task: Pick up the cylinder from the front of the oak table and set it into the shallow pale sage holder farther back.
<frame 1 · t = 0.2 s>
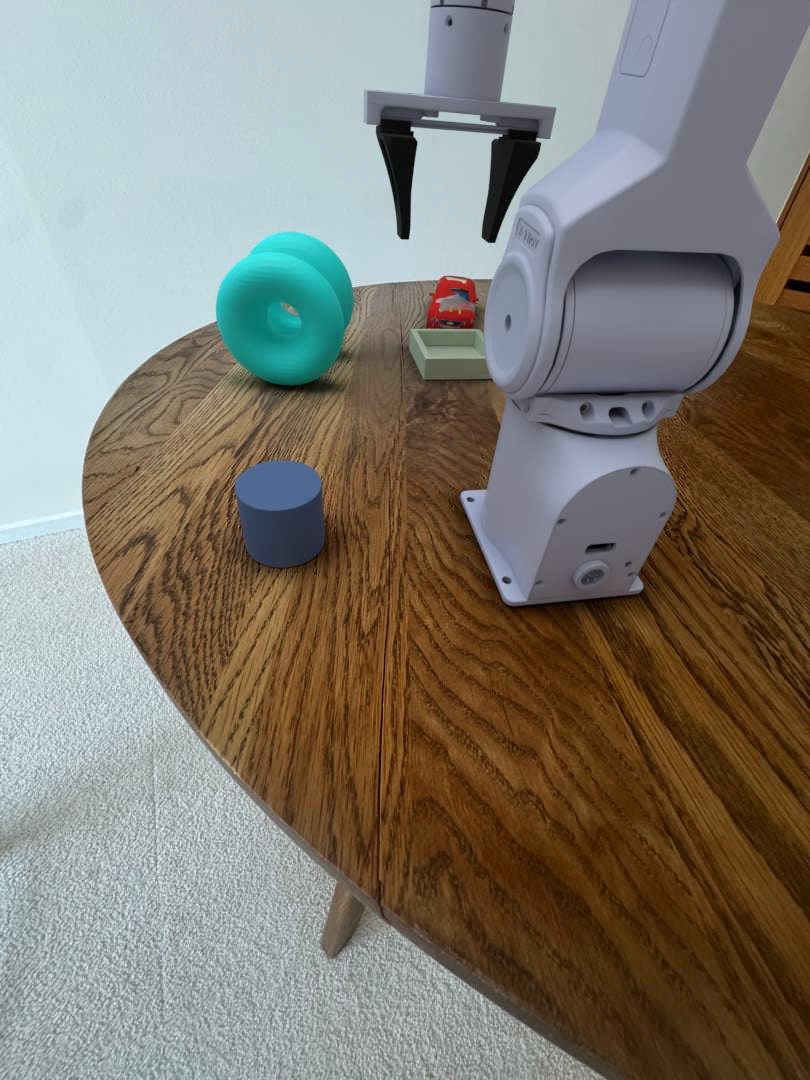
hand: (446, 238, 44), 10 cm above the table, tool pointing down, fingers open, 7 cm apart
turquoise spool: (294, 368, 46), on the table
holder: (451, 363, 49), on the table
lighter: (554, 345, 55), on the table
race car: (450, 321, 58), on the table
cylinder: (285, 540, 29), on the table
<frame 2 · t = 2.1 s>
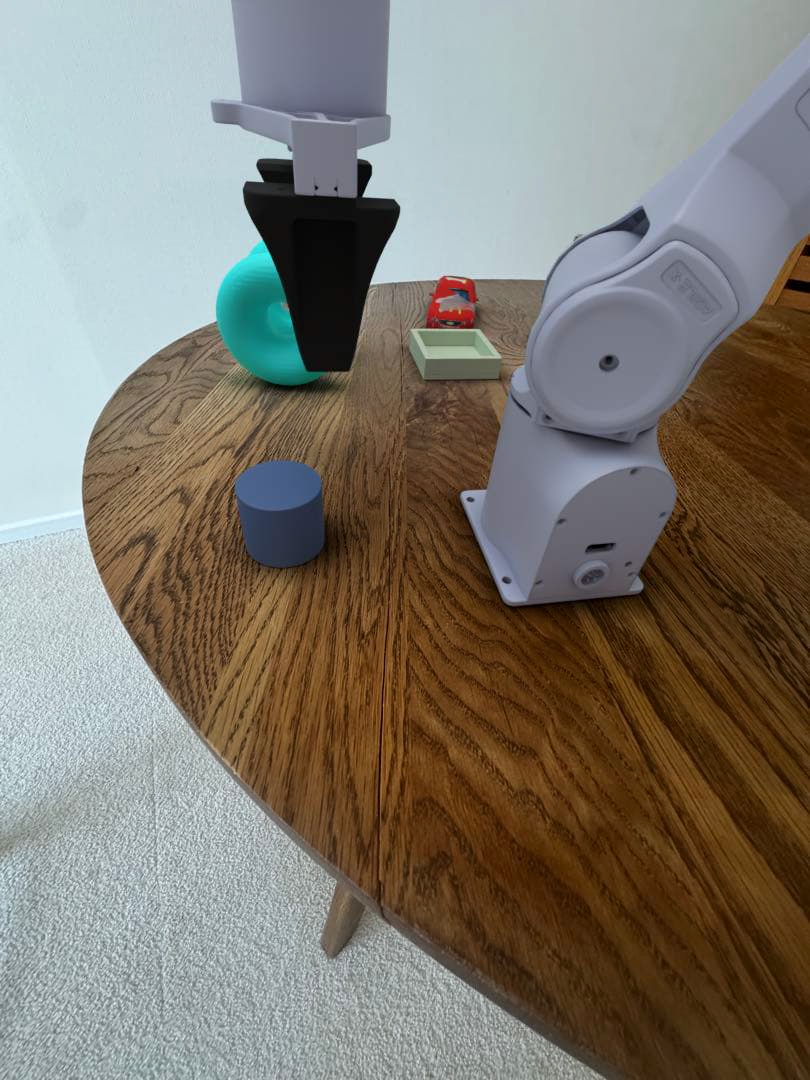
hand: (323, 338, 26), 10 cm above the table, tool pointing down, fingers open, 7 cm apart
nothing on the table moved.
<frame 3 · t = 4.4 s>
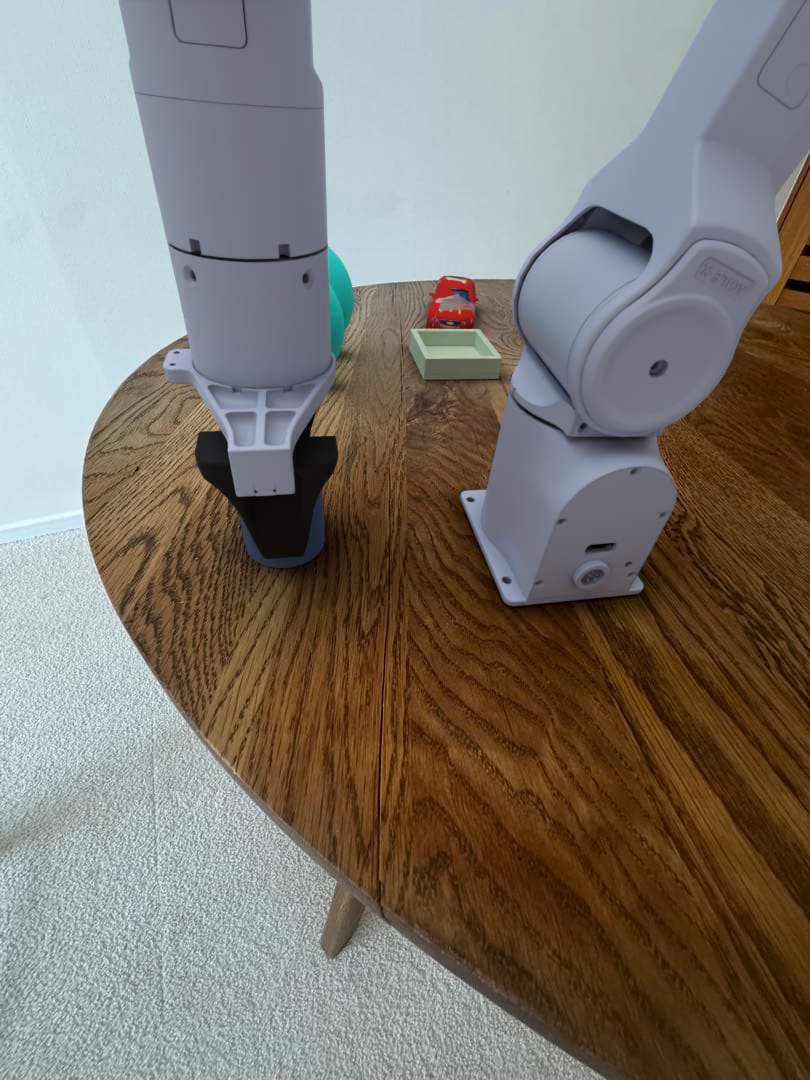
hand: (283, 521, 28), 1 cm above the table, tool pointing down, fingers closed on cylinder, 4 cm apart
cylinder: (285, 541, 29), on the table, touching gripper
everything else where it was.
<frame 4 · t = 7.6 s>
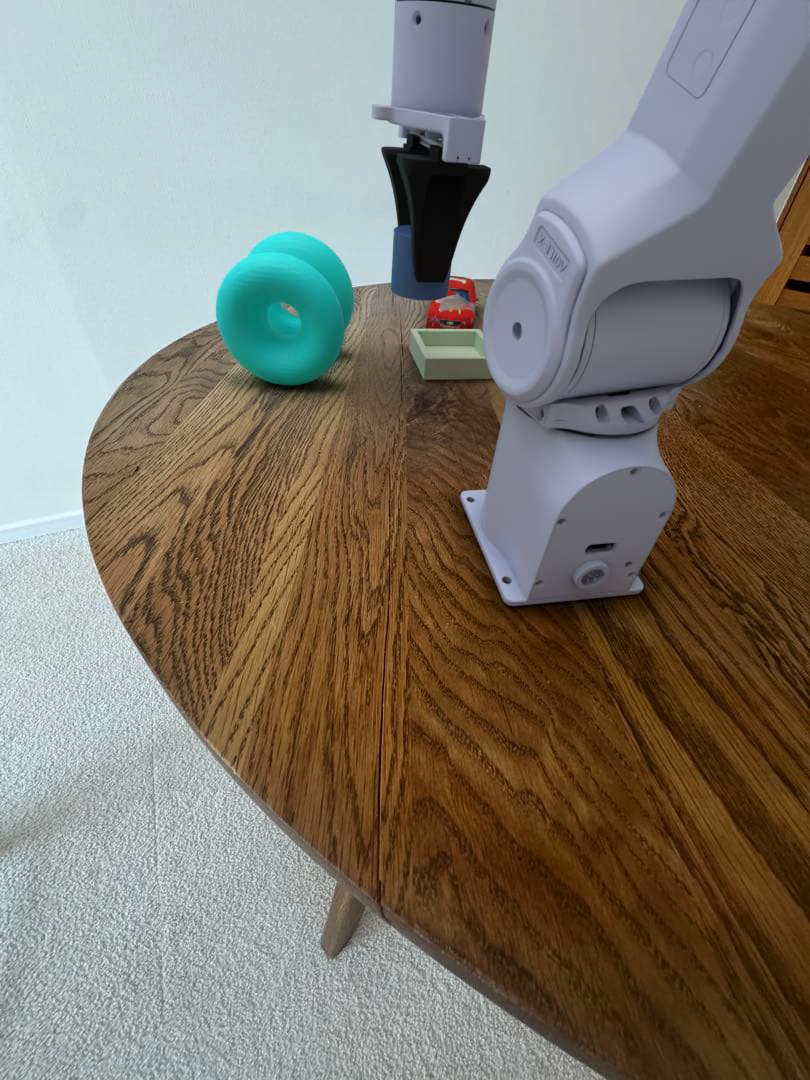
hand: (422, 271, 38), 9 cm above the table, tool pointing down, fingers closed on cylinder, 4 cm apart
cylinder: (419, 291, 39), point 8 cm above the table, touching gripper
everything else where it was.
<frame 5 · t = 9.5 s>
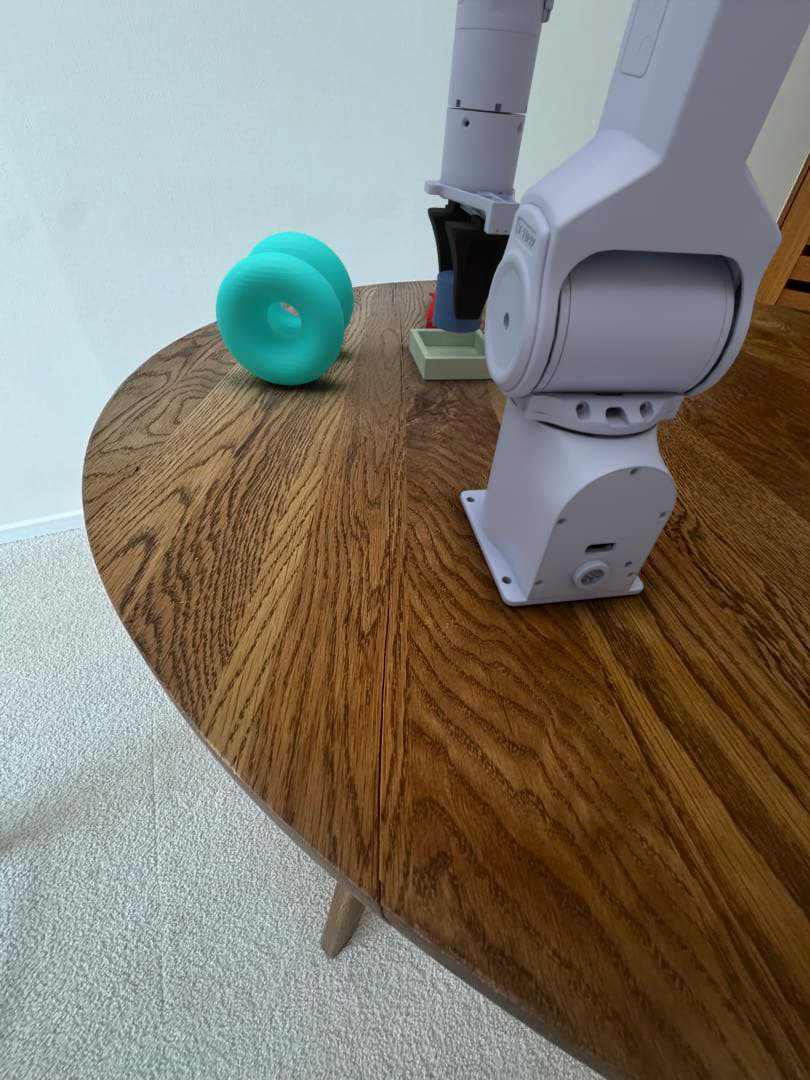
hand: (459, 308, 45), 5 cm above the table, tool pointing down, fingers closed on cylinder, 4 cm apart
cylinder: (456, 324, 46), point 4 cm above the table, touching gripper
everything else where it was.
when the fingers open (2 cm above the table, at t = 11.2 s): cylinder stays where it is, resting on holder.
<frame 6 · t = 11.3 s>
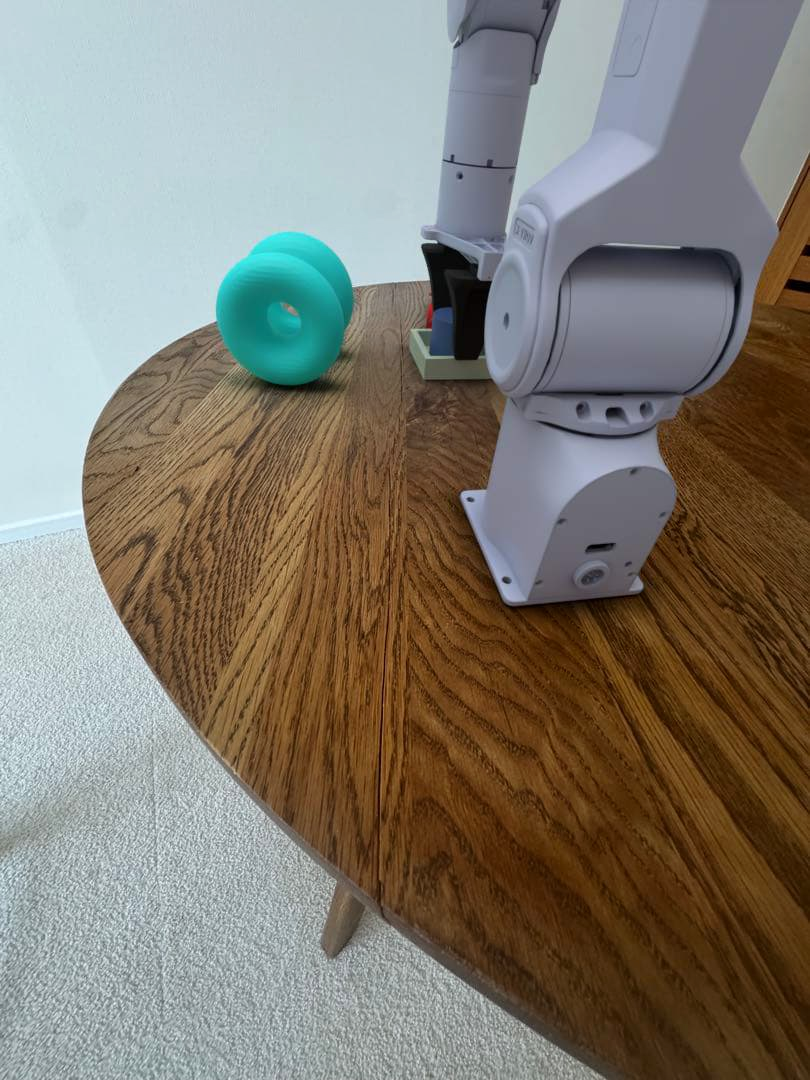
hand: (454, 342, 47), 2 cm above the table, tool pointing down, fingers open, 7 cm apart
cylinder: (451, 358, 48), resting on holder
everything else where it was.
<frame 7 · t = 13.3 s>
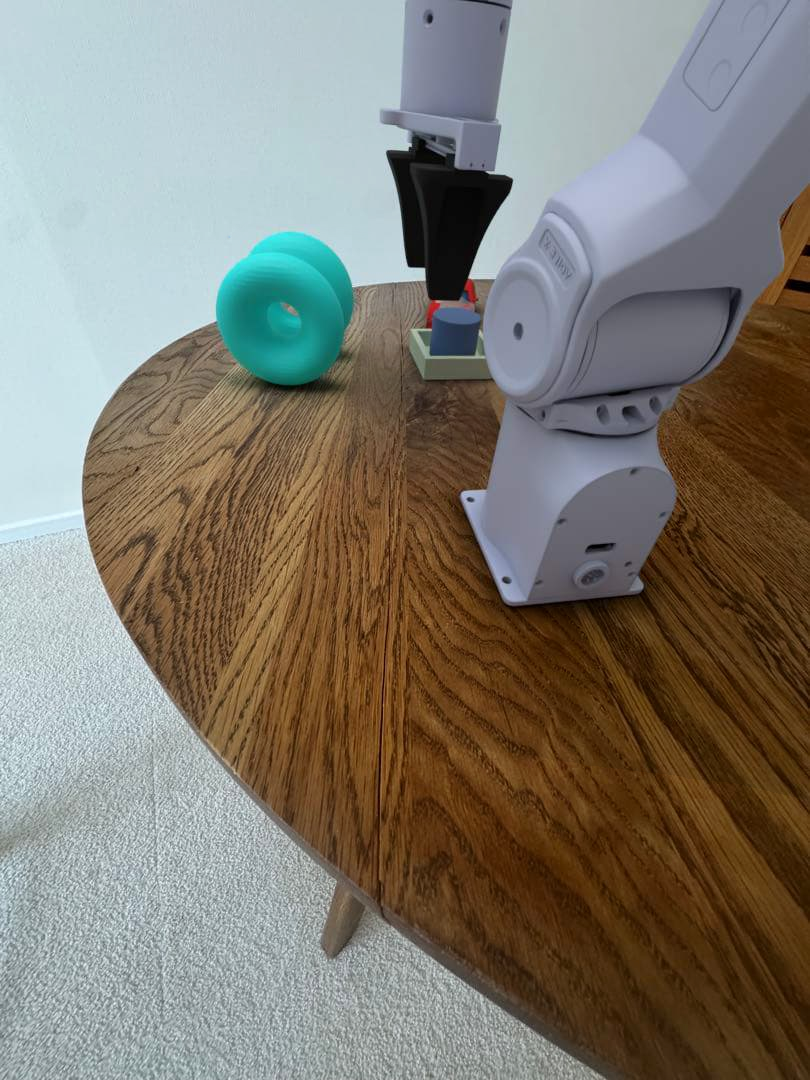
hand: (431, 281, 36), 9 cm above the table, tool pointing down, fingers open, 7 cm apart
nothing on the table moved.
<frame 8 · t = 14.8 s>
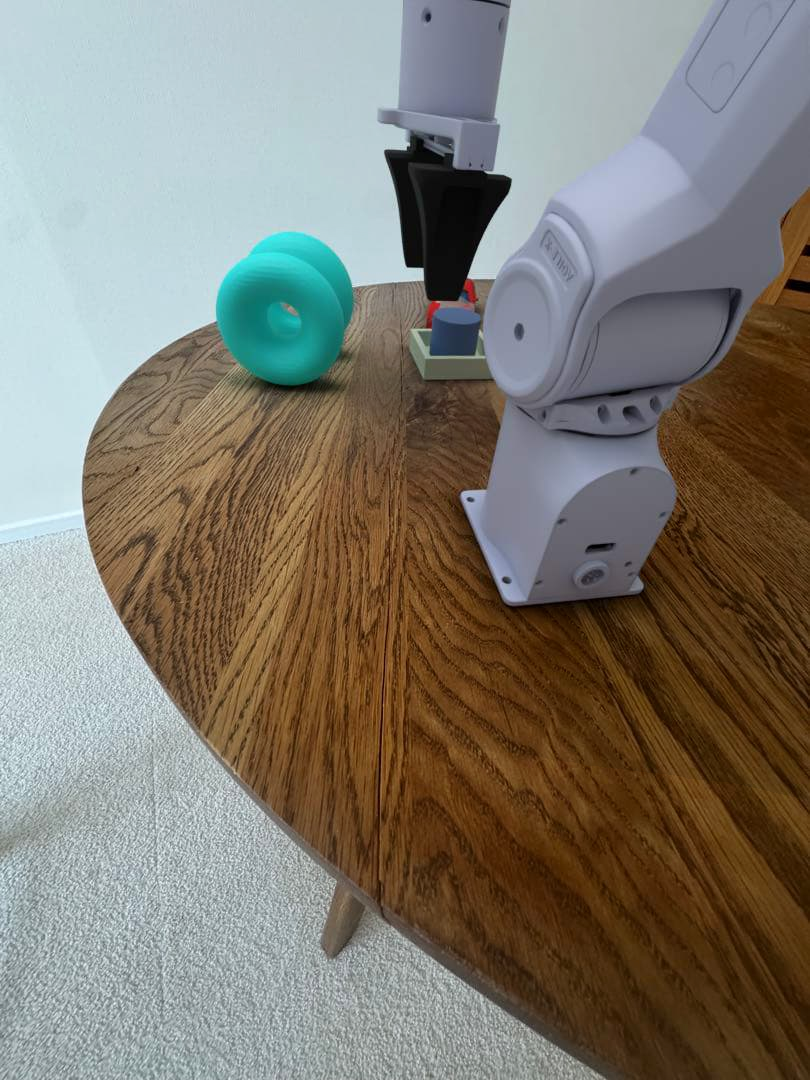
hand: (429, 282, 36), 9 cm above the table, tool pointing down, fingers open, 7 cm apart
nothing on the table moved.
at the end: cylinder 0.1 cm off-centre in the holder, point 0.5 cm above the holder's base; cylinder tilted 0° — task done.
